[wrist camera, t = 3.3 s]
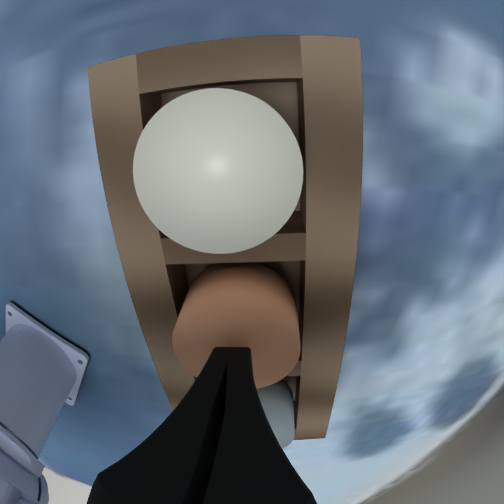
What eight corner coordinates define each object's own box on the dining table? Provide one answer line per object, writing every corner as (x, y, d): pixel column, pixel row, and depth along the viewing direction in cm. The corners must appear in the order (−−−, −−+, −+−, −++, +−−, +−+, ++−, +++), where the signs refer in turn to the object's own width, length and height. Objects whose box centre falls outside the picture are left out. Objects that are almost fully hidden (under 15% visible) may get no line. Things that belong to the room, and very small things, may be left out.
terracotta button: (295, 347, 16) (298, 389, 13) (195, 348, 16) (185, 388, 14) (296, 258, 13) (302, 297, 11) (177, 262, 14) (159, 299, 11)
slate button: (291, 418, 19) (293, 453, 17) (214, 418, 19) (209, 452, 17) (294, 370, 17) (296, 410, 14) (201, 369, 17) (193, 409, 15)
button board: (321, 405, 22) (325, 437, 19) (191, 405, 22) (185, 436, 20) (340, 49, 11) (359, 38, 9) (120, 70, 12) (87, 67, 9)
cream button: (296, 219, 13) (303, 251, 10) (170, 224, 13) (148, 256, 11) (292, 87, 10) (300, 83, 8) (153, 99, 11) (122, 102, 8)
